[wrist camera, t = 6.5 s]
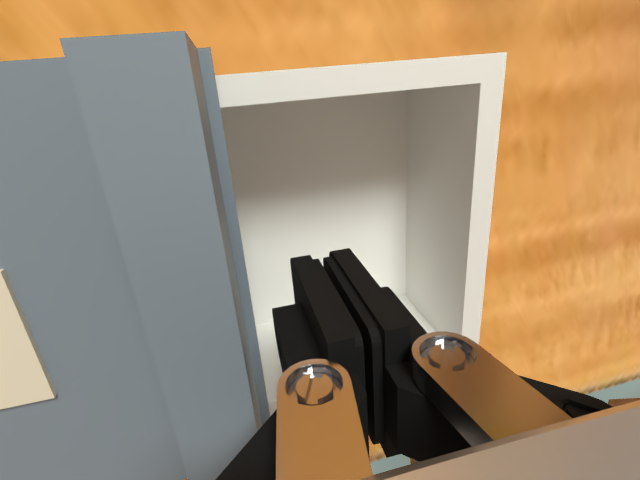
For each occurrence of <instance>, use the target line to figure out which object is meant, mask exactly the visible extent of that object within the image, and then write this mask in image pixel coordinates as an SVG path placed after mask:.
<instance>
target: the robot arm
mask: <svg viewBox="0 0 640 480" xmlns="http://www.w3.org/2000/svg"><path fill="white" fill-rule="evenodd" d="M290 265H291V274H292V282H293V291H294V300H295V304H292V305H287V306H282V307H277V308H272V315H273V322H274V329H275V336H276V342H277V348H278V354H279V359H280V363H281V368H282V372H283V374H282V375H281V377H280V378H279V381H278V385H277V409H276V410H275V412H274V413H273V414H272V415H271V416H270V417H269V419H268V420H267V421H266V422H265V423H264V424H263V425H262V427H261V428H260V429H259V430H258V431H257V432H256V433H255V435H254V436H253V437H252V438H251V439H250V440H249V442H248V443H247V444H246V445H245V446H244V447H243V448H242V450H241V451H240V452H239V453H238V454H237V455H236V456H235V458H234V459H233V460H232V461H231V462H230V463H229V465H228V466H227V467H226V468H225V469H224V470H223V471H222V473H221V474H220V475H219V476H218V477H217V478H216V479H215V480H640V398H630V399H611V400H609V402H608V404H607V403H605V402H603V401H602V400H599V399H596V398H594V397H591V396H588V395H585V394H582V393H578V392H575V391H571V390H568V389H564V388H561V387H557V386H554V385H550V384H547V383H543V382H540V381H536V380H533V379H529V378H526V377H522V376H519V375H517V374H515V373H514V372H513V371H511V370H510V369H509V368H508V367H506V366H505V365H504V364H503V363H501V362H500V361H499V360H497V359H496V358H495V357H494V356H492V355H491V354H490V353H488V352H487V351H486V350H485V349H483V348H482V347H481V346H480V345H478V344H477V343H476V342H474V341H473V340H471V339H469V338H468V337H466V336H463V335H460V334H457V333H452V332H446V331H445V332H431V333H427V332H426V331H425V330H424V328H423V327H422V326H421V325H420V324H419V322H418V321H417V320H416V319H415V318H414V316H413V315H412V314H411V313H410V312H409V310H408V309H407V308H406V307H405V306H404V304H403V303H402V302H401V301H400V300H399V298H398V297H397V296H396V295H395V294H394V292H393V291H392V290H391V289H390V288H389V287H380V286H379V285H378V283H377V282H376V281H375V280H374V278H373V277H372V276H371V275H370V273H369V272H368V271H367V269H366V268H365V267H364V266H363V264H362V263H361V262H360V261H359V259H358V258H357V257H356V256H355V254H354V253H353V252H352V250H351V249H350V248H347V249H341V250H335V251H330V253H329V257H324V258H323V265H322V264H321V262H320V260H319V259H312V257H311V255H306V256H300V257H294V258H290ZM368 435H369V437H370V439H371V441H372V443H373V444H378V443H380V444H381V446H382V448H383V451H384V453H385V455H386V457H391V456H394V455H398V454H403V455H405V456H407V457H410V462H411V464H410V465H407V466H404V467H400V468H396V469H393V470H390V471H386V472H383V473H379V474H376V475H373V474H372V470H371V465H370V461H369V439H368Z"/></svg>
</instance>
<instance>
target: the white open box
mask: <svg viewBox="0 0 640 480" xmlns="http://www.w3.org/2000/svg"><path fill="white" fill-rule="evenodd" d="M506 57H507V52H502V53H489V54H477V55H465V56H452V57H440V58H427V59H415V60H402V61H390V62H377V63H365V64H352V65H340V66H328V67H315V68H303V69H290V70H278V71H265V72H253V73H240V74H228V75H215V79H216V85H217V91H218V98H219V104H220V110H221V116H222V122H223V128H224V135H225V141H226V147H227V153H228V159H229V165H230V172H231V178H232V184H233V190H234V196H235V202H236V208H237V215H238V221H239V227H240V233H241V239H242V245H243V252H244V258H245V264H246V270H247V276H248V282H249V288H250V295H251V301H252V307H253V313H254V319H255V325H256V332H257V338H258V344H259V350H260V356H261V362H262V369H263V375H264V381H265V387H266V393H267V399H268V405H269V412H270V416H271V415H272V414H273V413H274V412H275V410H276V409H277V385H278V381H279V378H280V377H281V375H282V374H283V372H282V368H281V363H280V359H279V354H278V348H277V342H276V336H275V329H274V322H273V315H272V308H277V307H282V306H287V305H292V304H295V300H294V291H293V282H292V274H291V265H290V258H294V257H300V256H306V255H311V257H312V259H319V260H320V262H321V264H322V265H323V258H324V257H329V253H330V251H335V250H341V249H347V248H350V249H351V250H352V252H353V253H354V254H355V256H356V257H357V258H358V259H359V261H360V262H361V263H362V264H363V266H364V267H365V268H366V269H367V271H368V272H369V273H370V275H371V276H372V277H373V278H374V280H375V281H376V282H377V283H378V285H379V286H380V287H389V288H390V289H391V290H392V291H393V292H394V294H395V295H396V296H397V297H398V298H399V300H400V301H401V302H402V303H403V304H404V306H405V307H406V308H407V309H408V310H409V312H410V313H411V314H412V315H413V316H414V318H415V319H416V320H417V321H418V322H419V324H420V325H421V326H422V327H423V328H424V330H425V331H426V332H427V333H431V332H445V331H446V332H452V333H457V334H460V335H463V336H466V337H468V338H469V339H471V340H473V341H474V342H476V343H477V344H478V345H479V336H480V326H481V316H482V305H483V295H484V285H485V274H486V264H487V254H488V243H489V233H490V223H491V212H492V202H493V191H494V181H495V171H496V160H497V150H498V140H499V129H500V119H501V109H502V98H503V88H504V77H505V67H506Z"/></svg>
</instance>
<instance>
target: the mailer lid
mask: <svg viewBox="0 0 640 480" xmlns="http://www.w3.org/2000/svg"><path fill="white" fill-rule="evenodd" d="M60 41H61V45H62V48H63V51H64V55H65V57H61V58H47V59H32V60H17V61H2V62H0V480H184V479H188V480H215V479H216V478H217V477H218V476H219V475H220V474H221V473H222V471H223V470H224V469H225V468H226V467H227V466H228V465H229V463H230V462H231V461H232V460H233V459H234V458H235V456H236V455H237V454H238V453H239V452H240V451H241V450H242V448H243V447H244V446H245V445H246V444H247V443H248V442H249V440H250V439H251V438H252V437H253V436H254V435H255V433H256V432H257V431H258V430H259V429H260V428H261V427H262V425H263V424H264V423H265V422H266V421H267V420H268V419H269V417H270V412H269V405H268V399H267V393H266V387H265V381H264V375H263V369H262V362H261V356H260V350H259V344H258V338H257V332H256V325H255V319H254V313H253V307H252V301H251V295H250V288H249V282H248V276H247V270H246V264H245V258H244V252H243V245H242V239H241V233H240V227H239V221H238V215H237V208H236V202H235V196H234V190H233V184H232V178H231V172H230V165H229V159H228V153H227V147H226V141H225V135H224V128H223V122H222V116H221V110H220V104H219V98H218V91H217V85H216V79H215V73H214V67H213V61H212V55H211V49H210V47H209V48H196V46H195V45H194V44H193V42H192V41H191V39H190V38H189V37H188V35H187V34H186V32H185V31H177V32H160V33H143V34H126V35H109V36H93V37H76V38H60Z"/></svg>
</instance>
